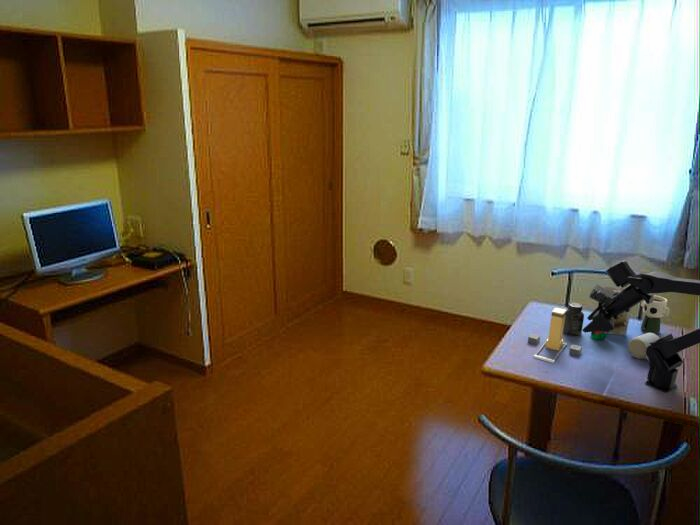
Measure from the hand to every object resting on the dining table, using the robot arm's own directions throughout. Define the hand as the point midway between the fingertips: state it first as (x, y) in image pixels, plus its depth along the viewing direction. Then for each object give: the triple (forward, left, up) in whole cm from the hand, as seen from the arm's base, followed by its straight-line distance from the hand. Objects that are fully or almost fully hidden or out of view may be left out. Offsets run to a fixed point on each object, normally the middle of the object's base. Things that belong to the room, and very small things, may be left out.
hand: (585, 325), depth 175 cm
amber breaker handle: (+8, +3, -10) cm, 13 cm away
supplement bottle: (+12, -12, -12) cm, 20 cm away
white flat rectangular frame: (+7, +7, -12) cm, 15 cm away
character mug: (-2, -40, -12) cm, 42 cm away
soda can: (+4, -16, -12) cm, 20 cm away
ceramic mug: (-13, -18, -12) cm, 25 cm away
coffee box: (+6, -28, -12) cm, 31 cm away
